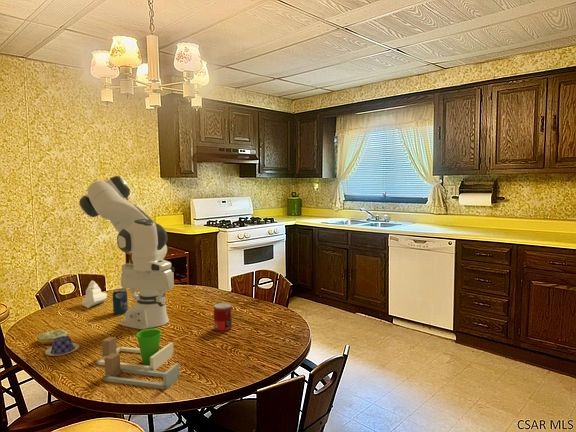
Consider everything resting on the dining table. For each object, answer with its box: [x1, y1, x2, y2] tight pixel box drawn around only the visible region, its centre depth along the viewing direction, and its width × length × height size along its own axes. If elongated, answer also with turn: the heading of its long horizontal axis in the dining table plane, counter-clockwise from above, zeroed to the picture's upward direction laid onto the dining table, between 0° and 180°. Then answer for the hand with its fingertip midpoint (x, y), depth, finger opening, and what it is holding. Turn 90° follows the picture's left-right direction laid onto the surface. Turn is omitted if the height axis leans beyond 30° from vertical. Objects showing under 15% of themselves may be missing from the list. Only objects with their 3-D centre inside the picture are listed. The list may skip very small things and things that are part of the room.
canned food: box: [213, 302, 233, 332], centre depth 180 cm, size 8×8×11 cm
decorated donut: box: [37, 328, 68, 345], centre depth 169 cm, size 10×11×4 cm
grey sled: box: [103, 353, 181, 390], centre depth 135 cm, size 25×8×7 cm, turn 75°
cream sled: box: [95, 336, 174, 371], centre depth 149 cm, size 25×13×7 cm, turn 75°
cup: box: [135, 328, 163, 366], centre depth 147 cm, size 9×9×11 cm
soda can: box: [112, 288, 129, 316], centre depth 204 cm, size 7×7×12 cm
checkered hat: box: [44, 335, 80, 357], centre depth 159 cm, size 12×12×5 cm
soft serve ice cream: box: [81, 280, 108, 309], centre depth 219 cm, size 12×15×14 cm
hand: (147, 300), depth 146 cm, fingers open, 8 cm apart
